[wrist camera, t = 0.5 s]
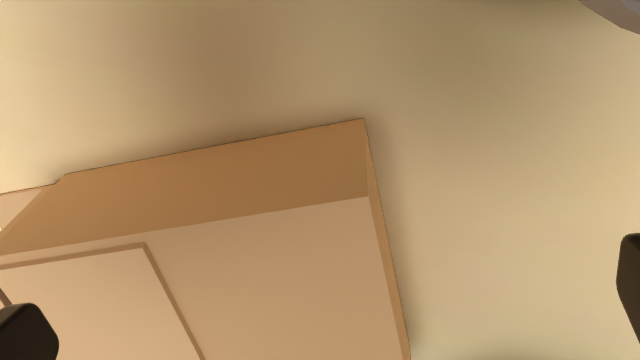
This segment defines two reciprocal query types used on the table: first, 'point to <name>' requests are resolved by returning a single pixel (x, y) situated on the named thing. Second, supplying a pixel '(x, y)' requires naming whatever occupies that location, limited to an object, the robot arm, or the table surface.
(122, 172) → the carton
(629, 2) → the food container
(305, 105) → the table surface
